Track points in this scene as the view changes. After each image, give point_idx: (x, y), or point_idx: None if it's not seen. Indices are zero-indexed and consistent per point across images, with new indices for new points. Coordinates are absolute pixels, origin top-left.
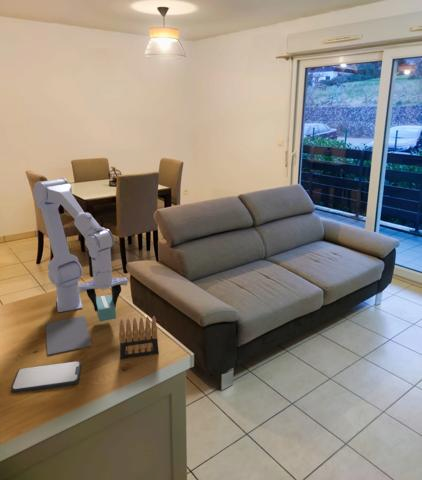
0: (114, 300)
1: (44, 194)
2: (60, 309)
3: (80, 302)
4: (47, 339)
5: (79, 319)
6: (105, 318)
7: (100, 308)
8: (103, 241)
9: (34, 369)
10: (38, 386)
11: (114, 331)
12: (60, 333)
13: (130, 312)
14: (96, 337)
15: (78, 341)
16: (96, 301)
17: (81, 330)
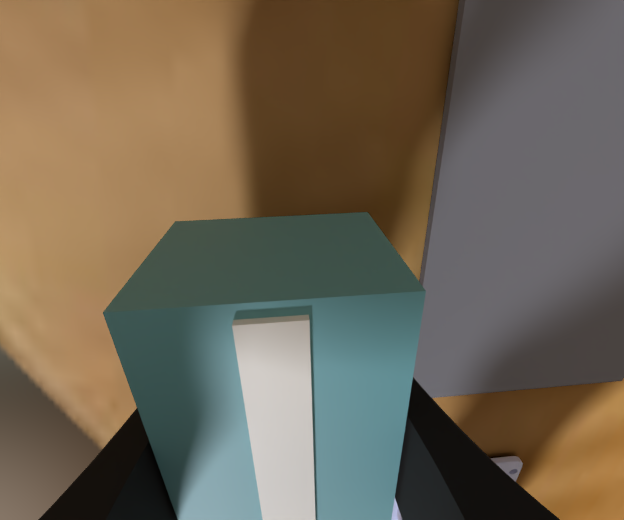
0: (112, 486)
1: None
2: (506, 472)
3: (395, 508)
4: None
5: (444, 371)
6: (301, 224)
7: (381, 334)
8: None
9: None
10: None
11: (226, 156)
12: (609, 247)
13: (97, 380)
14: (388, 110)
15: (550, 78)
16: (386, 501)
17: (473, 242)
